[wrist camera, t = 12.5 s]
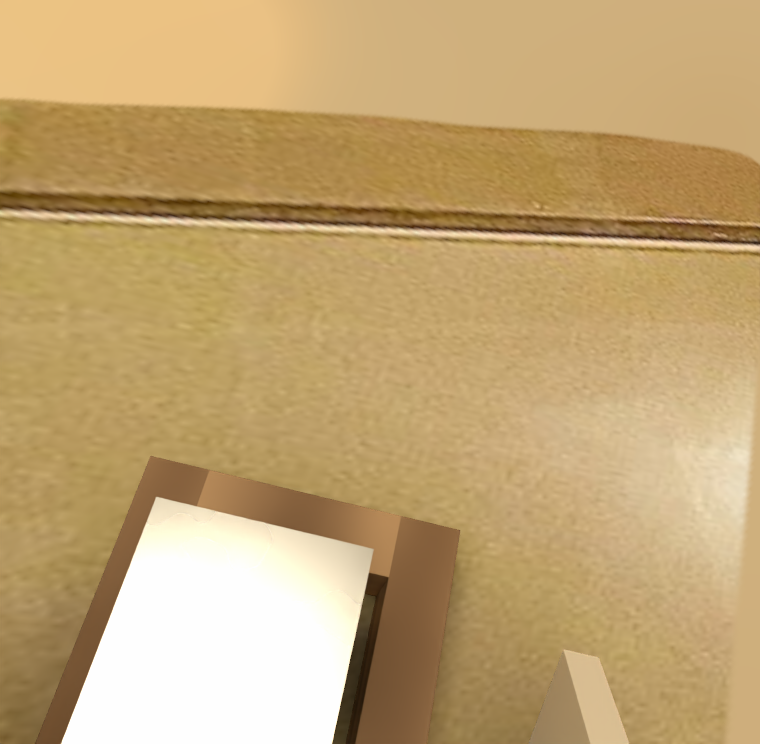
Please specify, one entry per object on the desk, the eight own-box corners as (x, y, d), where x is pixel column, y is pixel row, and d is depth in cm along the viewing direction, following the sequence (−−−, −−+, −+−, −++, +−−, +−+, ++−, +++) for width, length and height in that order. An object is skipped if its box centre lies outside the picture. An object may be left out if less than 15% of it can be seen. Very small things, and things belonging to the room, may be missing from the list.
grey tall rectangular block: (178, 728, 22) (59, 748, 11) (221, 590, 24) (156, 496, 13) (310, 760, 22) (316, 811, 11) (342, 619, 24) (374, 549, 13)
